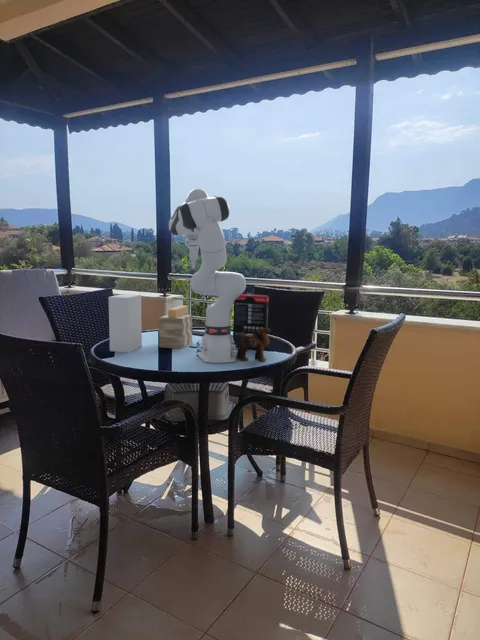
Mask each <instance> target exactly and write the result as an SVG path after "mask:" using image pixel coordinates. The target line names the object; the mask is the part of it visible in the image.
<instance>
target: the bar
mask: <svg viewBox="0 0 480 640" xmlns="http://www.w3.org/2000/svg"><path fill="white" fill-rule="evenodd" d="M184 314H189V305H185V304H184V305H183V304H181V305H177V306H174V307H173V308H172V307H171V308H169V309H167V315H168V317H169V318H177V317H179V316H182V315H184Z"/></svg>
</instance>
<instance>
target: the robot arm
mask: <svg viewBox="0 0 480 640" xmlns="http://www.w3.org/2000/svg"><path fill="white" fill-rule="evenodd" d="M229 216H230V206H229V203H228V201H227V199H226V198H224V197H223V196H216V195H213V196H212V197H211V196H210V197H209V195H208V193H207V192H206V190H204V189H202V188H193V189H192V190H191V191H189V192H188V195H187V196H186V199H185V202H183V203H182V204H180V205H178V206H177V207H176V208H175V210H174V213H173V214H172V216H171V217H170V218H169V221H168V229H169V232H170V233H171V234H172V235H173V236H184V245H185V246H186V247H187V249H189V254H188V255H189V256H188V257H189V260H190V266H191V269H196V260H198V257H199V251H200V256H201V265H200V267H199V269H198V270H197V271H196V272H195V273H193V274H192V277H191V278H190V287H191V290H192V291H193V292H194V293H195V294H199V295H203V296H217V297H218V299H217V301H215V302H213V303H212V304H209V305H208V306H207V308H206V310H205V325H204V335H203V336H202V337H201V348H200V351H199V352H197V353H196V354H197V356H198V357H199V358H200V359H201V360H202V361H203V362H204V363H210V364H211V363H216V364H218V363H219V364H220V363H221V364H222V363H225V364H226V363H235V362H236V361H237V358H236V357H237V351H236V348H237V347H236V345H233V344H234V341H233V335H231V332H232V331H231V330H232V328H231V324H230V322H231V311H232V307H233V305H234V301H235V300H236V298H237V297H239V296H240V295H241V294H244V292H245V291H246V287H247V281H246V278H245V276H244V275H243V274H242V273H238V272H234V271H219V270H220V269H221V268H223V267H224V266H226V264H227V262H228V255H227V254H228V253H227V247H226V240H225V235H224V232H223V229H222V227H221V224H219V223H220V222H223V221H226V220H228V219H229ZM199 249H200V250H199Z"/></svg>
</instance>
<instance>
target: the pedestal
mask: <svg viewBox="0 0 480 640" xmlns="http://www.w3.org/2000/svg"><path fill="white" fill-rule="evenodd" d="M158 330H159V332H158V339H159V340H158V341H159V342H158V343H159V344H158V346H159V348H165V349H166V348H168V349H182V350H183V349H185V347H187V346H189V345H191V344H192V343H193V314H190V313H187V314H184V315H182V316H179V317H177V318H169V317H168V314H166V315H163V316H160V317H158Z"/></svg>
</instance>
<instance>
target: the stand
mask: <svg viewBox="0 0 480 640" xmlns="http://www.w3.org/2000/svg"><path fill="white" fill-rule="evenodd" d="M142 324H143V323H142V295H141V294H125V293H122V294H117V295H112V296H108V325H109V326H108V329H109V335H108V336H109V351H110V352H119V353H131V352H133V351H135V350H138V349H139V348H141V347H143V344H142V343H143V336H142V335H143V333H142V331H143V330H142V328H143V327H142Z"/></svg>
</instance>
